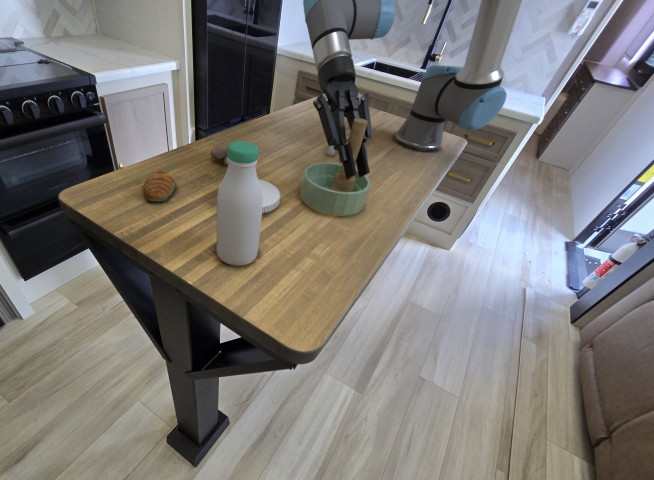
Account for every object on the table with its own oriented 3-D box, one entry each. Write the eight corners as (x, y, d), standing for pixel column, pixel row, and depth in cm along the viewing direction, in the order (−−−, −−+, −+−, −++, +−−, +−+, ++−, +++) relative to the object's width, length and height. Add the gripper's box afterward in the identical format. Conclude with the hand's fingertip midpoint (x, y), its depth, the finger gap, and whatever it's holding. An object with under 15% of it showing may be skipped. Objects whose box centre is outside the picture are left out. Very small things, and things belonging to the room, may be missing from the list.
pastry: (172, 205, 72) (170, 188, 70) (140, 203, 71) (137, 187, 69) (176, 184, 79) (175, 169, 76) (147, 183, 78) (145, 167, 75)
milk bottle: (265, 258, 62) (279, 152, 48) (230, 272, 59) (234, 160, 45) (243, 237, 66) (250, 133, 52) (209, 248, 63) (206, 139, 49)
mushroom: (244, 167, 89) (241, 148, 93) (235, 149, 84) (232, 130, 88) (219, 177, 91) (217, 158, 95) (208, 160, 86) (207, 141, 90)
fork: (349, 144, 116) (351, 136, 114) (333, 157, 100) (336, 147, 99) (341, 142, 117) (343, 133, 115) (325, 154, 101) (327, 145, 99)
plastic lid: (283, 193, 81) (284, 183, 79) (272, 223, 71) (274, 213, 69) (228, 182, 82) (228, 173, 80) (210, 211, 72) (210, 200, 70)
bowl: (318, 179, 88) (323, 157, 84) (372, 200, 83) (380, 177, 79) (287, 200, 79) (291, 176, 75) (346, 225, 73) (354, 201, 69)
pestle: (335, 186, 80) (354, 114, 69) (353, 193, 79) (376, 121, 67) (326, 193, 77) (345, 119, 66) (345, 200, 76) (367, 126, 64)
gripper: (353, 77, 76) (374, 177, 78) (294, 77, 71) (318, 185, 72) (375, 54, 69) (398, 165, 71) (311, 52, 64) (337, 173, 65)
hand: (357, 175), depth 71 cm, fingers closed on pestle, 3 cm apart
